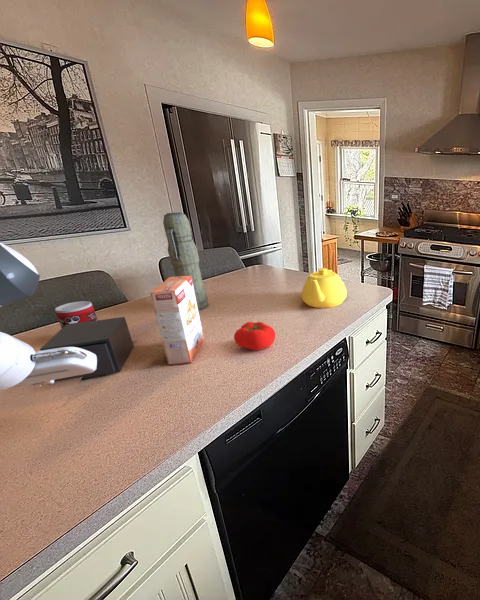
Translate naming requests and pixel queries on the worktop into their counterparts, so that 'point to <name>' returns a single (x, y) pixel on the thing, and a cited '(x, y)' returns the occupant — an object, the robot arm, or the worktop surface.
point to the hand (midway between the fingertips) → (44, 381)
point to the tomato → (254, 336)
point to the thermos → (184, 254)
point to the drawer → (103, 360)
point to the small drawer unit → (97, 338)
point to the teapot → (323, 289)
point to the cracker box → (178, 319)
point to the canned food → (75, 313)
